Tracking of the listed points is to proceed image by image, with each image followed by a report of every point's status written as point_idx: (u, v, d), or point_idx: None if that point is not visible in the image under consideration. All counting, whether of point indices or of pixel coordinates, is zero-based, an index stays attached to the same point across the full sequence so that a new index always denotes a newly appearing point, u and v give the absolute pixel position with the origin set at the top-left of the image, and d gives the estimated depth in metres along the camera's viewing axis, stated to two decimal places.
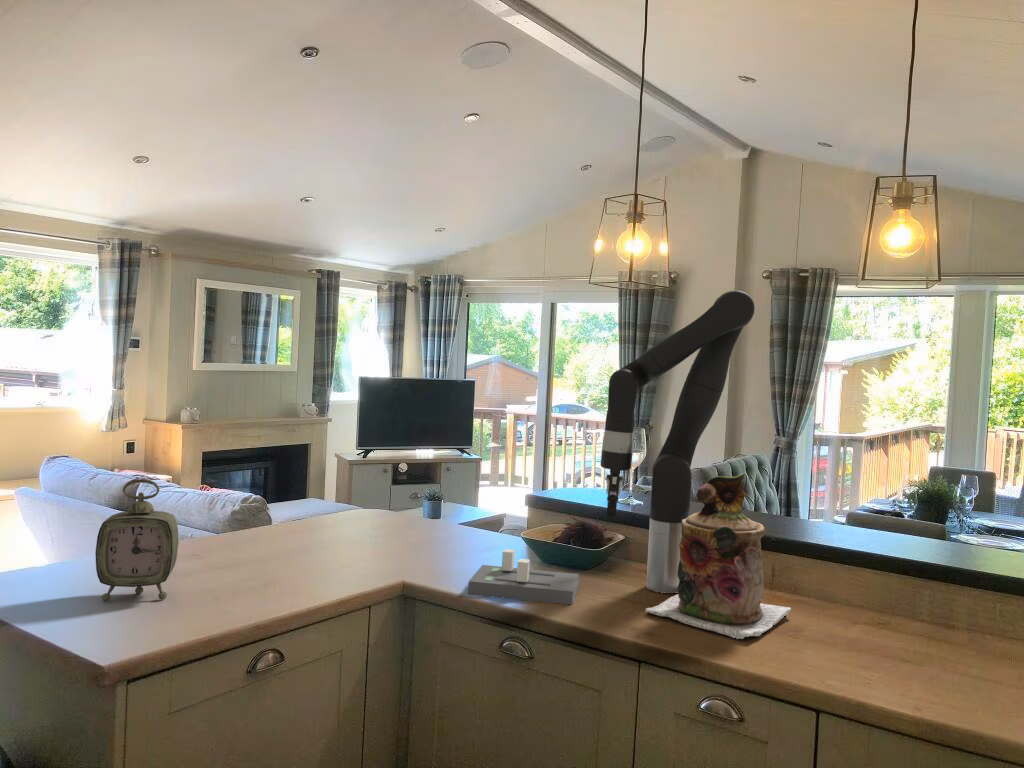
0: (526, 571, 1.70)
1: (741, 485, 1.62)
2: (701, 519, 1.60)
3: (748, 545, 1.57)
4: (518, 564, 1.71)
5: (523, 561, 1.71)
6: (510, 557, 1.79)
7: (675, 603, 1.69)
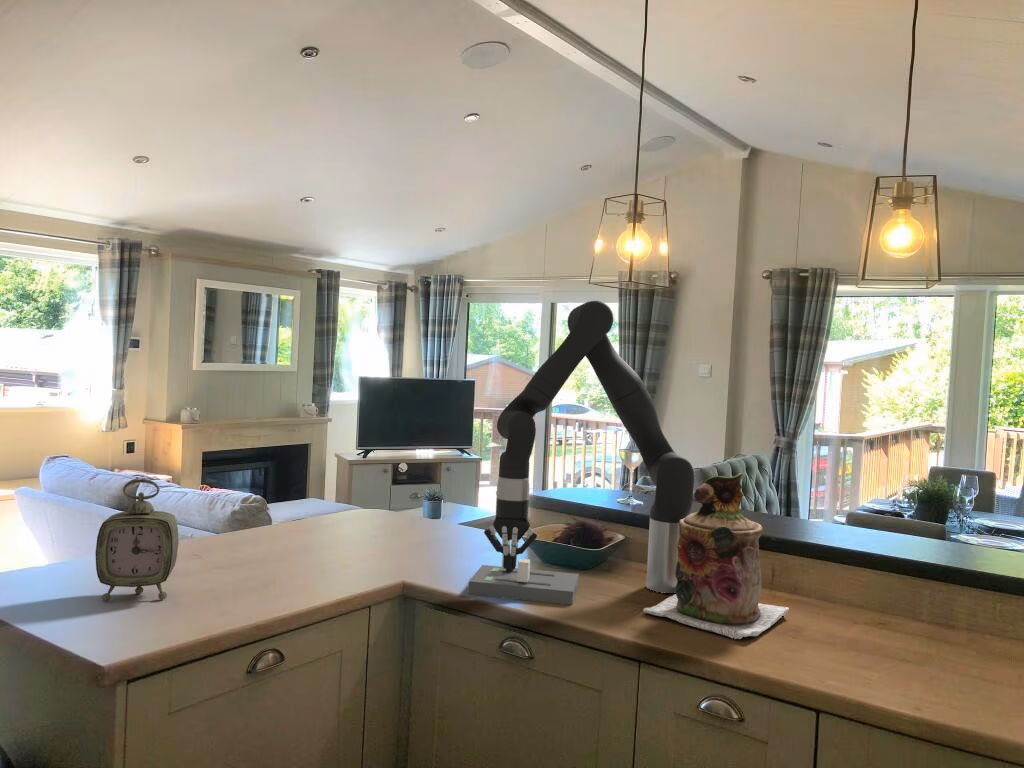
0: (526, 571, 1.70)
1: (739, 485, 1.62)
2: (699, 519, 1.60)
3: (746, 545, 1.57)
4: (518, 564, 1.71)
5: (523, 561, 1.71)
6: None
7: (673, 603, 1.69)
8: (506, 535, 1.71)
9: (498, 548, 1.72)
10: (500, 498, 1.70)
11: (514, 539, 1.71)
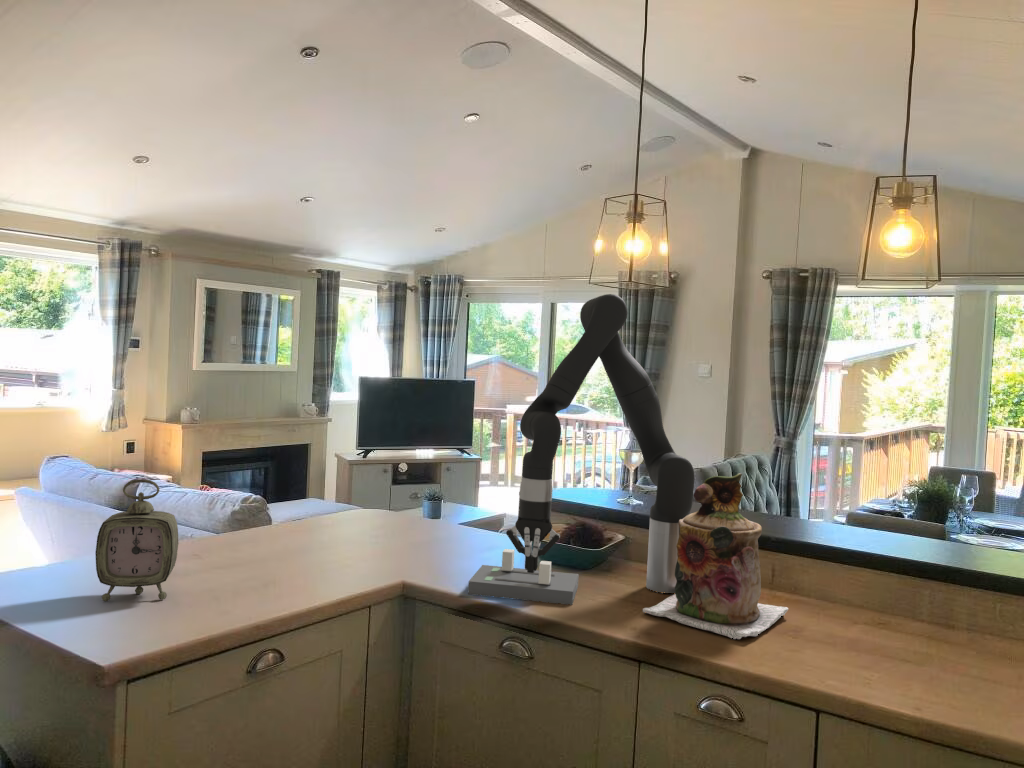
0: (548, 573, 1.70)
1: (738, 485, 1.62)
2: (698, 519, 1.60)
3: (746, 545, 1.57)
4: (540, 566, 1.70)
5: (545, 563, 1.70)
6: (510, 557, 1.79)
7: (673, 603, 1.69)
8: (528, 536, 1.70)
9: (520, 549, 1.71)
10: (523, 499, 1.69)
11: (536, 540, 1.70)
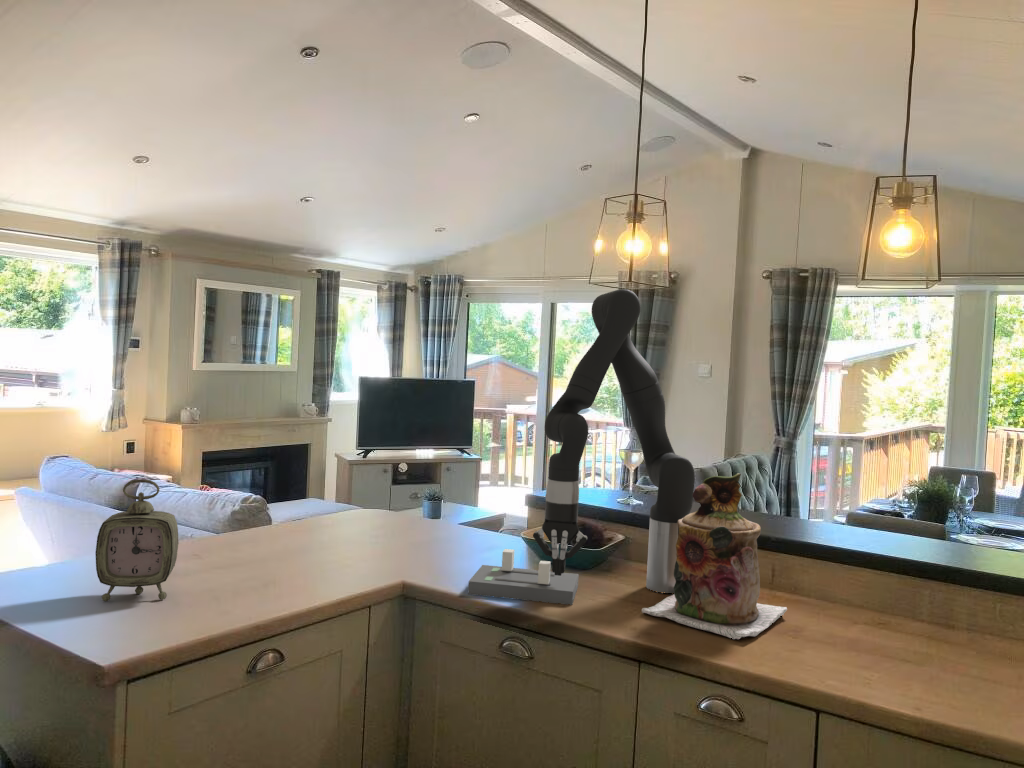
0: (547, 573, 1.70)
1: (737, 485, 1.62)
2: (697, 519, 1.60)
3: (745, 545, 1.57)
4: (539, 566, 1.70)
5: (544, 563, 1.70)
6: (510, 557, 1.79)
7: (672, 603, 1.69)
8: (555, 538, 1.69)
9: (547, 552, 1.70)
10: (550, 501, 1.68)
11: (564, 543, 1.69)
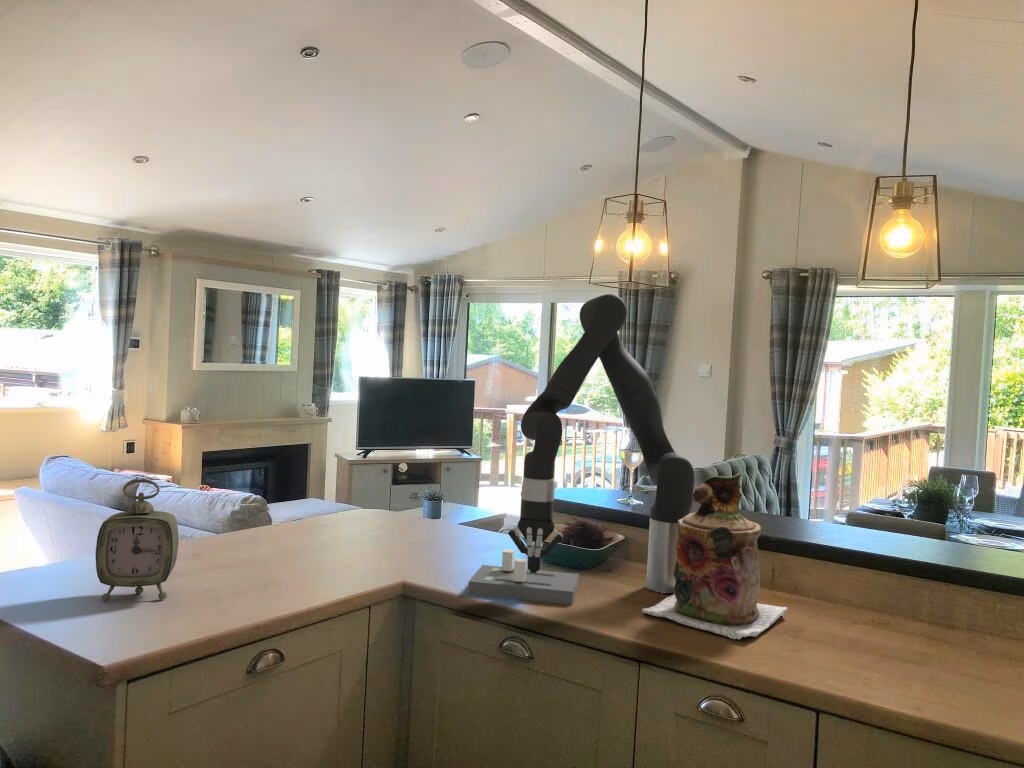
0: (523, 571, 1.71)
1: (738, 485, 1.62)
2: (698, 519, 1.60)
3: (745, 545, 1.57)
4: (515, 564, 1.71)
5: (520, 561, 1.71)
6: (510, 557, 1.79)
7: (672, 603, 1.69)
8: (531, 536, 1.70)
9: (522, 549, 1.71)
10: (525, 499, 1.69)
11: (539, 540, 1.69)
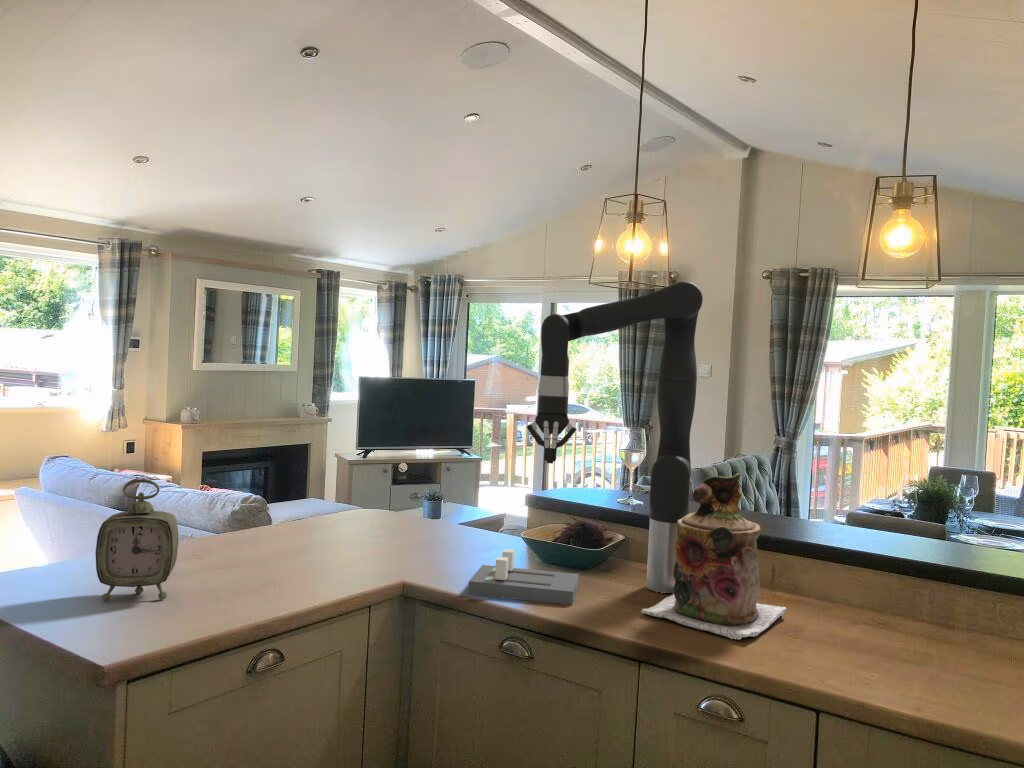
0: (504, 569, 1.71)
1: (737, 485, 1.62)
2: (697, 519, 1.60)
3: (745, 545, 1.57)
4: (496, 562, 1.72)
5: (501, 559, 1.72)
6: (510, 557, 1.79)
7: (671, 604, 1.69)
8: (547, 429, 1.86)
9: (540, 441, 1.87)
10: (542, 394, 1.85)
11: (555, 433, 1.85)
